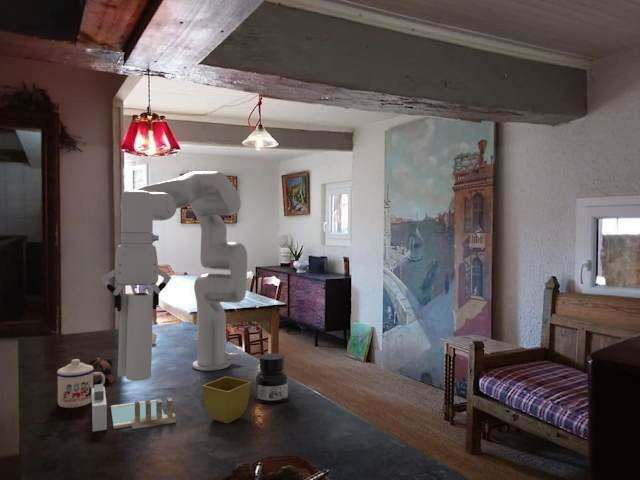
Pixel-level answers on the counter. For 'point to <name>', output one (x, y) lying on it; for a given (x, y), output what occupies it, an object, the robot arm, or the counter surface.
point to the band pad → (129, 413)
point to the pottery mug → (103, 367)
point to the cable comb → (153, 420)
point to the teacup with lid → (76, 384)
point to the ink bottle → (271, 379)
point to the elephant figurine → (154, 337)
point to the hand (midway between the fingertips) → (136, 309)
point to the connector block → (99, 408)
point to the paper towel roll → (135, 336)
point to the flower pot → (226, 398)
